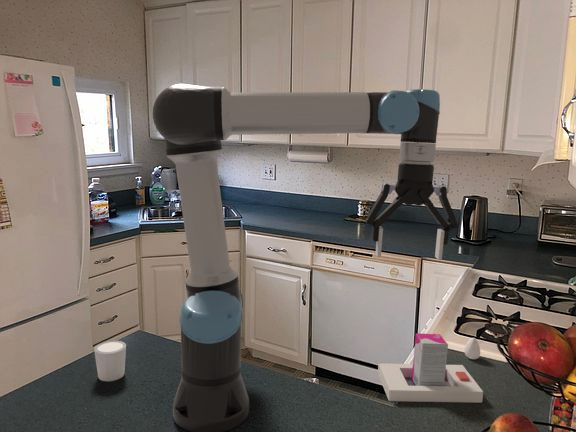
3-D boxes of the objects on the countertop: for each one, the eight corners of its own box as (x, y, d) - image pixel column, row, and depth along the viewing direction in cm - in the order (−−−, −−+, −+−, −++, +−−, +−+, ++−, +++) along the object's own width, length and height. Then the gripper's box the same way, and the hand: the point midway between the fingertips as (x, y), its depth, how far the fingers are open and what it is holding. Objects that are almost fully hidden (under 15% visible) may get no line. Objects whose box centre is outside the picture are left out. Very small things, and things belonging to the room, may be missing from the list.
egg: (474, 354, 125) (476, 334, 124) (482, 361, 121) (484, 340, 120) (461, 355, 124) (463, 335, 123) (468, 361, 121) (470, 341, 120)
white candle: (133, 371, 112) (132, 343, 110) (112, 385, 105) (111, 355, 104) (110, 365, 114) (109, 338, 113) (88, 378, 108) (87, 349, 107)
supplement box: (444, 393, 105) (448, 344, 103) (417, 392, 105) (421, 343, 103) (436, 379, 110) (440, 333, 109) (410, 379, 110) (414, 332, 108)
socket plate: (388, 401, 102) (389, 387, 101) (377, 373, 113) (378, 361, 113) (482, 402, 102) (483, 389, 101) (461, 374, 114) (462, 362, 113)
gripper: (361, 161, 101) (355, 258, 104) (480, 166, 101) (469, 263, 104) (357, 159, 108) (351, 250, 112) (467, 164, 108) (457, 255, 112)
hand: (408, 257), depth 108 cm, fingers open, 13 cm apart
